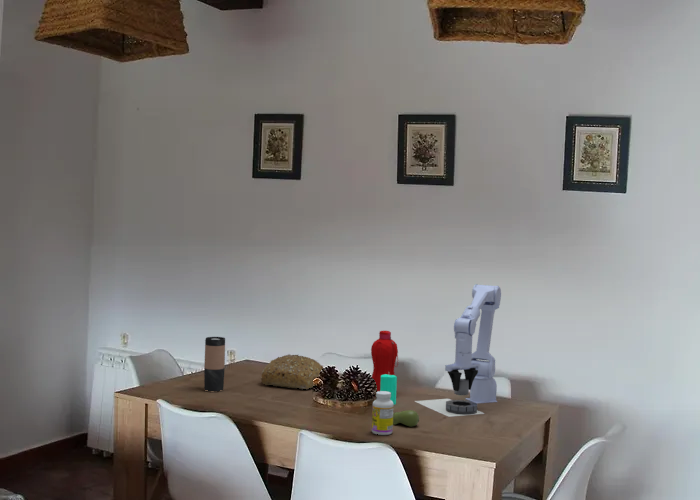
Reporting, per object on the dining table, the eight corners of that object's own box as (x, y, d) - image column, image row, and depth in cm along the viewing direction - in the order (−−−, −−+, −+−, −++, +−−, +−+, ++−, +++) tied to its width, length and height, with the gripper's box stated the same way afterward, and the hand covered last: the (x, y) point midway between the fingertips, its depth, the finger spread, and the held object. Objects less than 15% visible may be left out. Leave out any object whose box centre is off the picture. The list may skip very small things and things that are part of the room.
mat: (448, 399, 301) (448, 398, 301) (485, 414, 279) (485, 413, 279) (414, 402, 294) (414, 401, 294) (448, 417, 273) (448, 416, 273)
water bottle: (389, 400, 296) (392, 333, 295) (365, 395, 302) (368, 330, 301) (403, 396, 303) (405, 331, 302) (379, 392, 310) (382, 328, 309)
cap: (461, 392, 285) (461, 377, 285) (471, 394, 281) (471, 379, 281) (451, 393, 282) (451, 378, 282) (461, 395, 278) (461, 380, 278)
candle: (394, 406, 286) (396, 373, 286) (378, 405, 287) (379, 372, 287) (397, 403, 292) (398, 370, 292) (381, 401, 293) (382, 369, 293)
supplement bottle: (370, 429, 253) (371, 390, 253) (391, 430, 254) (392, 390, 254) (372, 435, 247) (374, 394, 246) (393, 435, 247) (395, 395, 247)
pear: (413, 411, 256) (385, 412, 261) (415, 428, 256) (387, 428, 261) (420, 408, 261) (393, 409, 266) (422, 424, 261) (394, 425, 266)
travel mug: (228, 390, 304) (229, 338, 303) (214, 393, 298) (216, 340, 297) (213, 387, 308) (214, 336, 307) (199, 390, 302) (200, 338, 301)
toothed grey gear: (465, 406, 289) (465, 399, 289) (483, 413, 279) (483, 405, 279) (439, 408, 285) (440, 401, 284) (456, 415, 275) (456, 408, 274)
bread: (255, 386, 313) (256, 356, 312) (278, 377, 333) (279, 348, 332) (312, 393, 304) (313, 362, 304) (332, 383, 324) (333, 354, 324)
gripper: (471, 349, 288) (470, 386, 289) (440, 351, 281) (438, 389, 281) (484, 352, 282) (483, 389, 283) (453, 354, 275) (451, 393, 275)
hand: (462, 390), depth 282 cm, fingers closed on cap, 5 cm apart
